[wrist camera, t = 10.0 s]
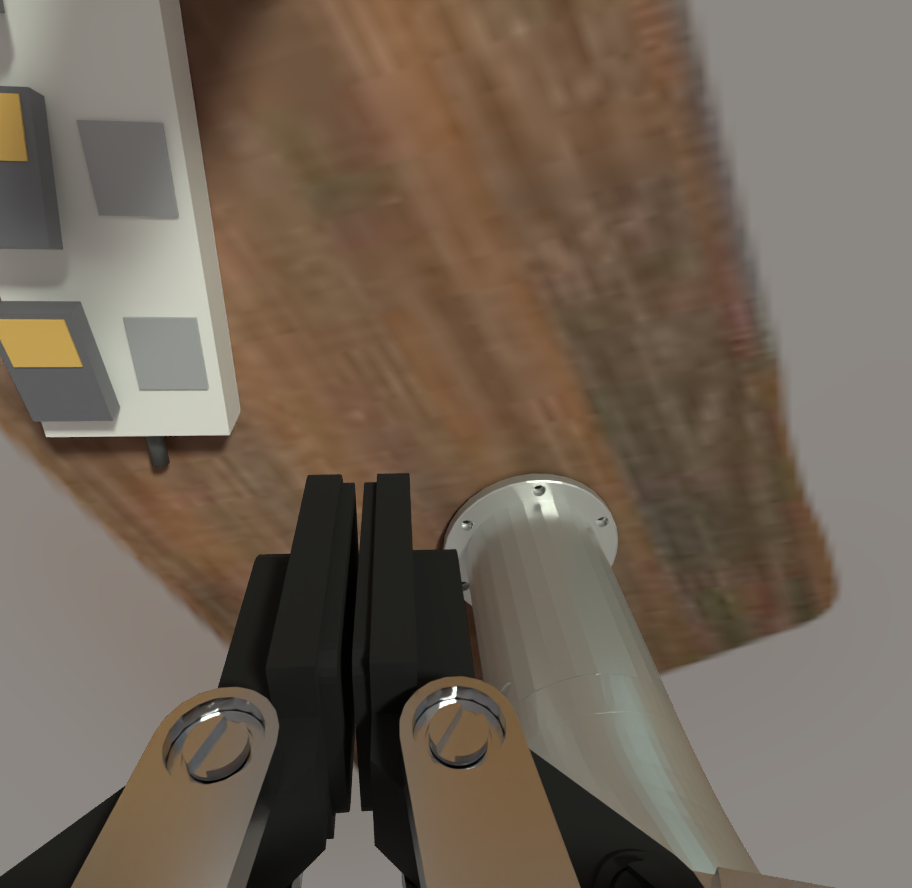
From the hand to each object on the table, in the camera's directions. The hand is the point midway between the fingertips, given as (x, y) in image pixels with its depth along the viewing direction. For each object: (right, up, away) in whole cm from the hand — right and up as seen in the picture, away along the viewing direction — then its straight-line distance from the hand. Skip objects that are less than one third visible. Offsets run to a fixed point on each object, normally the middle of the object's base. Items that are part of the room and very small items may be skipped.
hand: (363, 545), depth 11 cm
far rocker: (-19, +6, +21) cm, 29 cm away
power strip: (-16, +15, +21) cm, 31 cm away
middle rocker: (-18, +14, +16) cm, 28 cm away
